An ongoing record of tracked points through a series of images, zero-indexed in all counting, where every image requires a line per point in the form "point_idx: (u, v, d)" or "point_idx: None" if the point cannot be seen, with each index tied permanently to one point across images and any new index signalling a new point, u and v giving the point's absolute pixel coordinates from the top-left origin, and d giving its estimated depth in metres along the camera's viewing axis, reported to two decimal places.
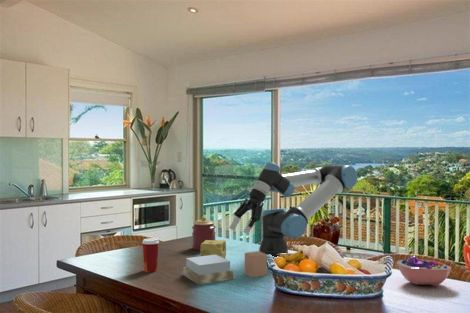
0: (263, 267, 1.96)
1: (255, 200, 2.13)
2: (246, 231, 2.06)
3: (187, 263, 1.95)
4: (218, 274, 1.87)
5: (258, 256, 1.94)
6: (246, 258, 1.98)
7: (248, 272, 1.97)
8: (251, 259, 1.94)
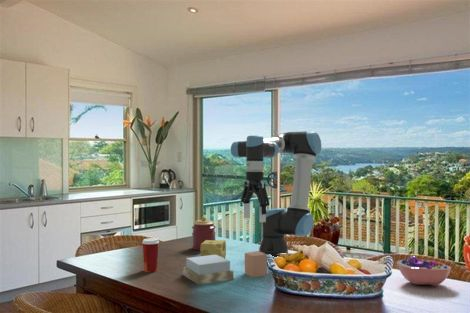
0: (263, 267, 1.96)
1: (255, 183, 1.95)
2: (262, 220, 1.91)
3: (187, 263, 1.95)
4: (218, 274, 1.87)
5: (258, 256, 1.94)
6: (246, 258, 1.98)
7: (248, 272, 1.97)
8: (251, 259, 1.94)
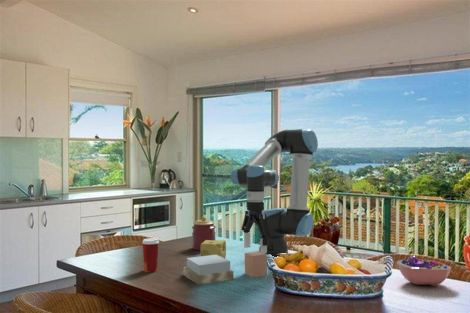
0: (263, 267, 1.96)
1: (256, 213, 1.95)
2: (263, 251, 1.91)
3: (187, 263, 1.95)
4: (218, 274, 1.87)
5: (258, 256, 1.94)
6: (246, 258, 1.98)
7: (248, 272, 1.97)
8: (251, 259, 1.94)
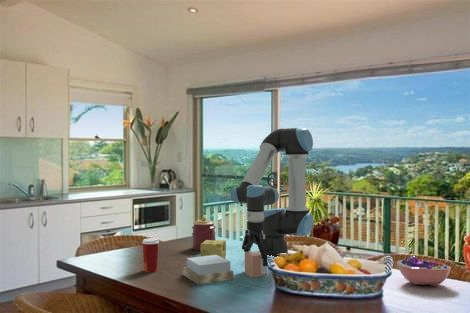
0: None
1: (256, 233, 1.95)
2: (264, 271, 1.91)
3: (188, 263, 1.95)
4: (218, 274, 1.87)
5: (258, 256, 1.94)
6: (246, 258, 1.98)
7: (248, 272, 1.97)
8: (251, 259, 1.94)
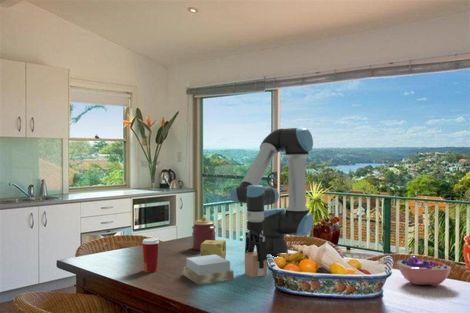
0: (264, 267, 1.96)
1: (256, 233, 1.95)
2: (260, 274, 1.94)
3: (187, 263, 1.95)
4: (218, 274, 1.87)
5: None
6: (246, 258, 1.98)
7: (248, 272, 1.97)
8: (251, 259, 1.94)
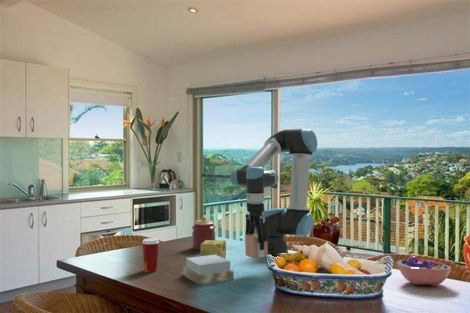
0: (264, 248, 1.96)
1: (256, 215, 1.95)
2: (260, 255, 1.94)
3: (187, 263, 1.95)
4: (218, 274, 1.87)
5: None
6: (246, 240, 1.98)
7: (249, 254, 1.97)
8: (252, 241, 1.94)
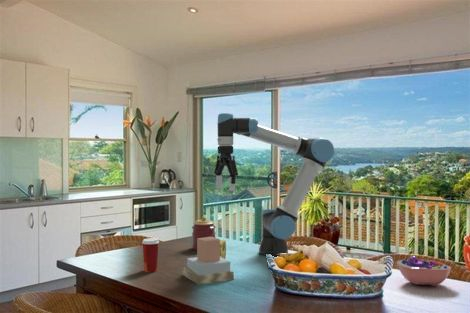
0: (216, 252, 1.91)
1: (225, 156, 2.17)
2: (232, 189, 2.13)
3: (188, 263, 1.95)
4: (218, 274, 1.87)
5: (211, 241, 1.90)
6: (198, 243, 1.93)
7: (200, 258, 1.92)
8: (204, 244, 1.89)
